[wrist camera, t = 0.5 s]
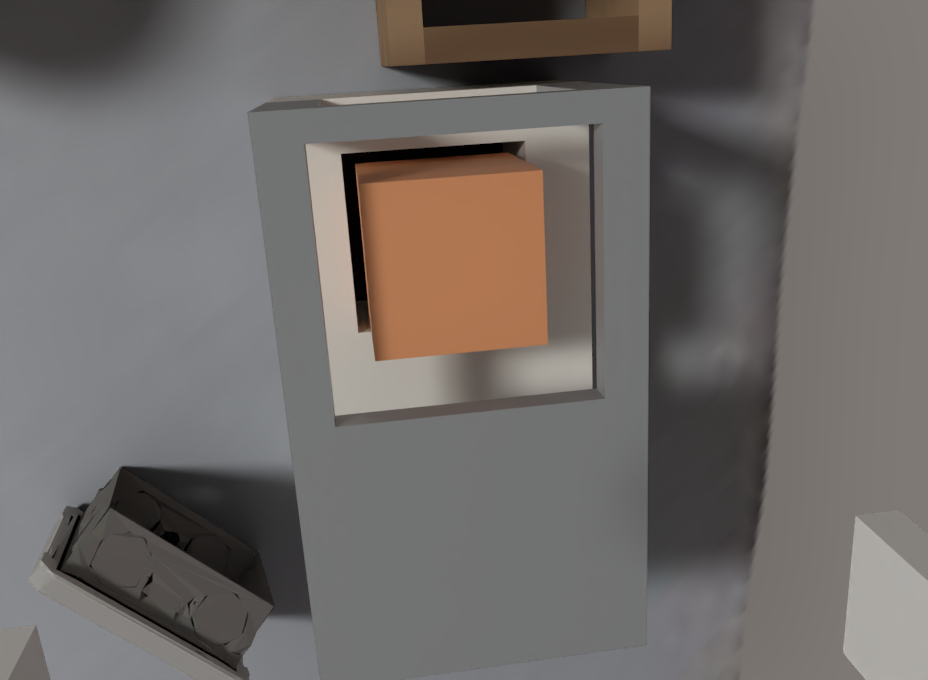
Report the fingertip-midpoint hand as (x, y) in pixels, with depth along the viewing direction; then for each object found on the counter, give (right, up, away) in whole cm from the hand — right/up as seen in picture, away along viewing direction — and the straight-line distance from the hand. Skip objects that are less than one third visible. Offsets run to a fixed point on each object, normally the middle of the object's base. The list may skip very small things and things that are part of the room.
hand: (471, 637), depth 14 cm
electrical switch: (-14, -4, +28) cm, 31 cm away
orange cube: (-1, +9, +21) cm, 23 cm away
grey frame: (-1, +6, +26) cm, 27 cm away
